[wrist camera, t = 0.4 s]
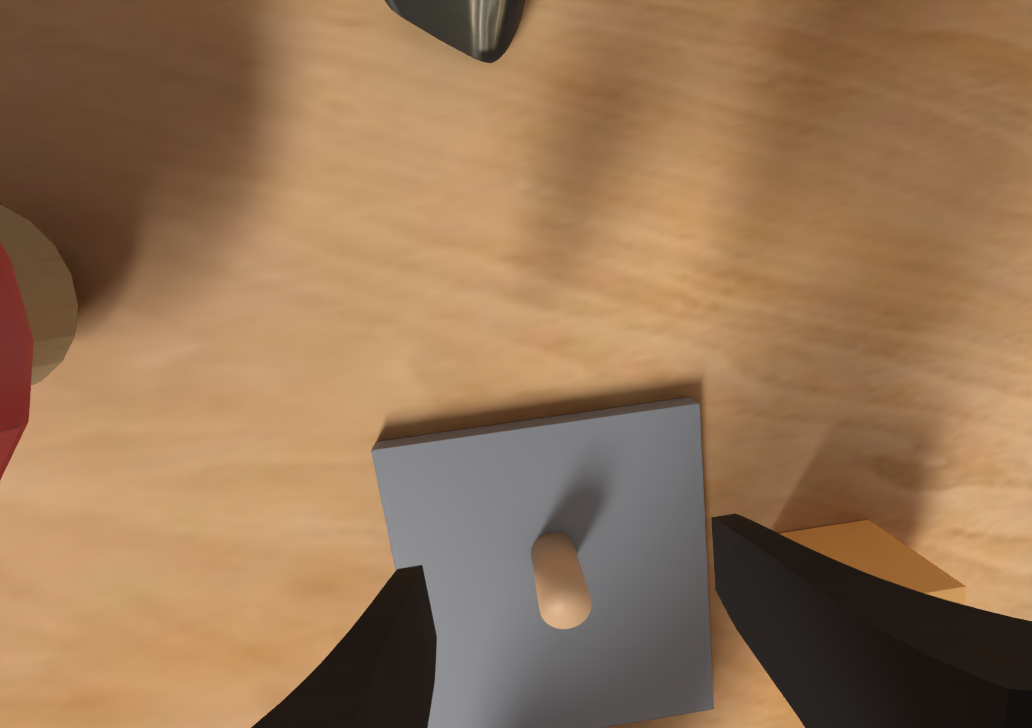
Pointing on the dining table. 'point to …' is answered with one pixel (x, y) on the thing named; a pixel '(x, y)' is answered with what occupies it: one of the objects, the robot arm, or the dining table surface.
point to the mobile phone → (466, 23)
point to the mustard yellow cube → (880, 557)
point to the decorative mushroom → (29, 320)
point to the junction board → (616, 553)
